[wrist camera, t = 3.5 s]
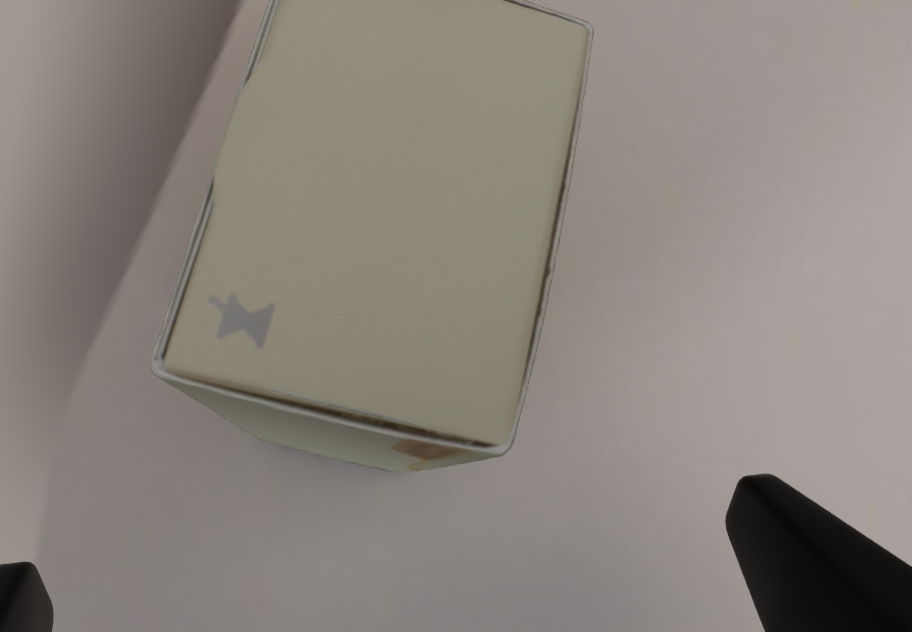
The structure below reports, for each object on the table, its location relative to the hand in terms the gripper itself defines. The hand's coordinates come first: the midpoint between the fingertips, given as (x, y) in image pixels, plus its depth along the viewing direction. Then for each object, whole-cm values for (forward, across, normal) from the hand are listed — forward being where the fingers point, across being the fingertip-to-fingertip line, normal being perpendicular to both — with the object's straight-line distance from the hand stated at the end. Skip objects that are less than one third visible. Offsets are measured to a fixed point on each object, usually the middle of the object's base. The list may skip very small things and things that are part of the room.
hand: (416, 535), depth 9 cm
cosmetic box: (+11, 0, +5) cm, 12 cm away
